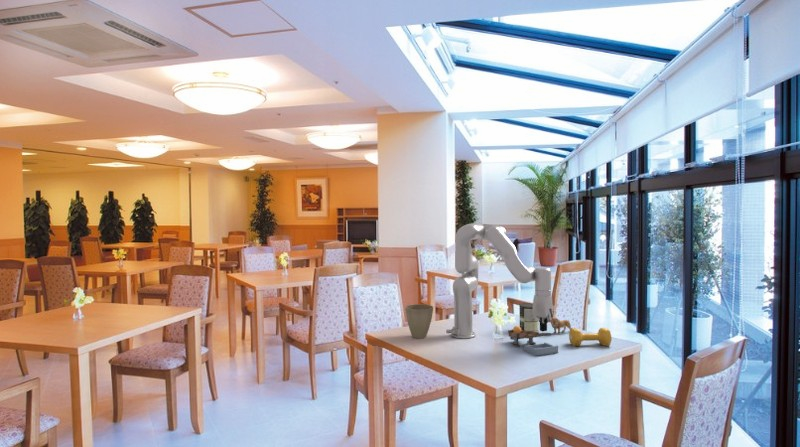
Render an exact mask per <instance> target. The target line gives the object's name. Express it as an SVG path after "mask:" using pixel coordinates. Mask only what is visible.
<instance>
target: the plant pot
mask: <svg viewBox="0 0 800 447" xmlns="http://www.w3.org/2000/svg"><path fill="white" fill-rule="evenodd" d="M404 308H405V310H404V311H405V317H406V321H407V325H408V329H409V332H410V335H411V337H412V338H413V337H414V338H413V339H418V338H421V339H425V338H427V335H428V333H429V330H430V326H431V323H432V319H433V313H434V306H433V305H429V304H424V303H419V304H418V303H414V304H408V305H406V306H404ZM424 337H425V338H424Z"/></svg>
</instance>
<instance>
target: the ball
mask: <svg viewBox="0 0 800 447" xmlns="http://www.w3.org/2000/svg"><path fill="white" fill-rule="evenodd" d="M512 330H513V331H514V332H517V333H521V328H520V325H515V326H513V328H512Z"/></svg>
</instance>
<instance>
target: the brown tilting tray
mask: <svg viewBox="0 0 800 447" xmlns="http://www.w3.org/2000/svg"><path fill="white" fill-rule="evenodd" d="M507 332H508V337H509V339H510V340H512V341H514V334H517V335H518V340H523V339H529V338H533V339H534V338H540V337H548V336H552V333H551V332H539V331H538V332H531V331H521V333H517V332H514V331H513V329H508V330H507Z"/></svg>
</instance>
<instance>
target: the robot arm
mask: <svg viewBox="0 0 800 447" xmlns="http://www.w3.org/2000/svg"><path fill="white" fill-rule="evenodd" d="M454 238H455V239H454V246H455V247H454V250H455V251H454V268H455V270H456V272H457V273H458V274H461V276H458V277H456V278H455V279H454V280H453V282H452V293H453V305H454V306H453V308H454V310H453V311H454V313H453V317H454V319H453V320H454V322H453V324H454V326H452V328H451V329H446V330H445V332H446V334H450V335H451V336H452V337H453V338H457V339H472V338H475V337H476V333H475V332H473V298H472V292H474V291H475V290H476V289H477V288H478V286H479V261H478V259H477V257H476V256H474V255H473V254H472V245H471V241H473V240H485V241H488V242H489V243H490V245H491V246H492V247H493V249H495V250H496V252H497V253H498V254H499V256H500V257H501V258H502V261H503V262H504V264H505V266H506V268H507V270H508V271H509V272H510V274H511V275H512V276H513V277H514V278H515V279H516V281H518V282H519V283H520V284H528V283H531V282H534V295H533V300H532V304H533V314H534V315H535V316H536V317H537V318H538V320H539V321H538V323H539V331H540V332H547V331H548V323H549V321H550V322H551V320H552V318H553V316H554V305H553V298H552V270H551V269H550V268H549V267H542V266H541V267H537V266H531V265H528V266H525V265H524V263H522V260H520V258H519V256H518V254H517V248H516V246H515V244H514V243H513V242H512V241H511V240H510V238H508V236H507V230H506V228H505V227H504V226H503V225H502V226H501V225H496V224H489V223H482V222H478V223H477V222H475V223H473V222H472V223H468V224H465V225H463V226H461V227H459V228H458V229H457V231H456V233H455V237H454Z"/></svg>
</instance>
